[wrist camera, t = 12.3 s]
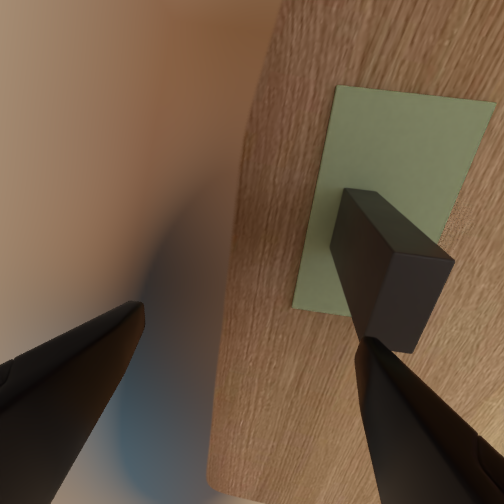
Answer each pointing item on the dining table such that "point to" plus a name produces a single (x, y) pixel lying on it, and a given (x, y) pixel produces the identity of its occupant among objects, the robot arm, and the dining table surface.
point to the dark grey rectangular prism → (386, 269)
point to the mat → (386, 171)
